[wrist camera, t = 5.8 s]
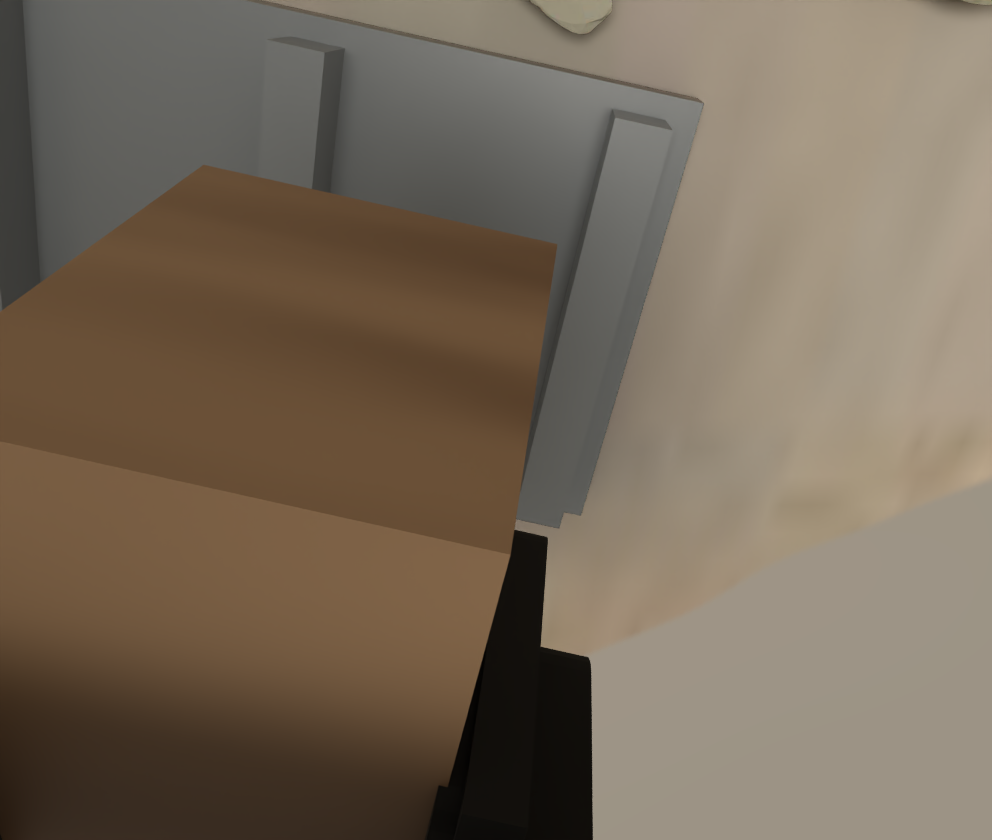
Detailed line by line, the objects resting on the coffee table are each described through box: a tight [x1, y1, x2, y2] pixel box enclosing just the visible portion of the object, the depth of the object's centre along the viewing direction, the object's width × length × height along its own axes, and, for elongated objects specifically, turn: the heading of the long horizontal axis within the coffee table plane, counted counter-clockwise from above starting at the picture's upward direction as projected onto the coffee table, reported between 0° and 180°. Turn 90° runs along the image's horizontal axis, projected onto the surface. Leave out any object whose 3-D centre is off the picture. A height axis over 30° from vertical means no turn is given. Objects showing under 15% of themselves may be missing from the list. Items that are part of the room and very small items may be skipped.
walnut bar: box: [0, 165, 557, 840], centre depth 9 cm, size 8×4×5 cm, turn 169°
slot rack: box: [0, 0, 704, 528], centre depth 20 cm, size 17×11×3 cm, turn 79°
